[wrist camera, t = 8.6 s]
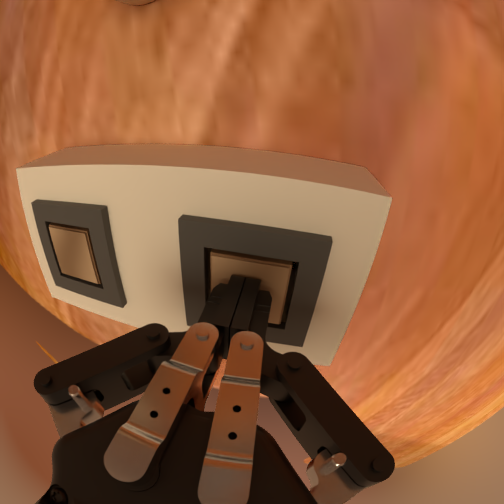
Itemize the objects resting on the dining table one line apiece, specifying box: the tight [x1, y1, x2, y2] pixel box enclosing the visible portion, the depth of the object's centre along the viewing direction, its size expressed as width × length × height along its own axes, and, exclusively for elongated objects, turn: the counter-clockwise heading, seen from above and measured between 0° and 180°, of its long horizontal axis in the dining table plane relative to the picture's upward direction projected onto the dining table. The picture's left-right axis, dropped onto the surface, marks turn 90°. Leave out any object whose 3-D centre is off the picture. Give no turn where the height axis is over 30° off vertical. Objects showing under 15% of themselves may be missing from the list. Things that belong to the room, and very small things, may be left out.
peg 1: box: [49, 222, 102, 284], centre depth 18 cm, size 4×4×7 cm
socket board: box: [16, 144, 392, 366], centre depth 18 cm, size 24×12×7 cm, turn 85°
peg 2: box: [210, 249, 293, 324], centre depth 17 cm, size 4×4×7 cm
